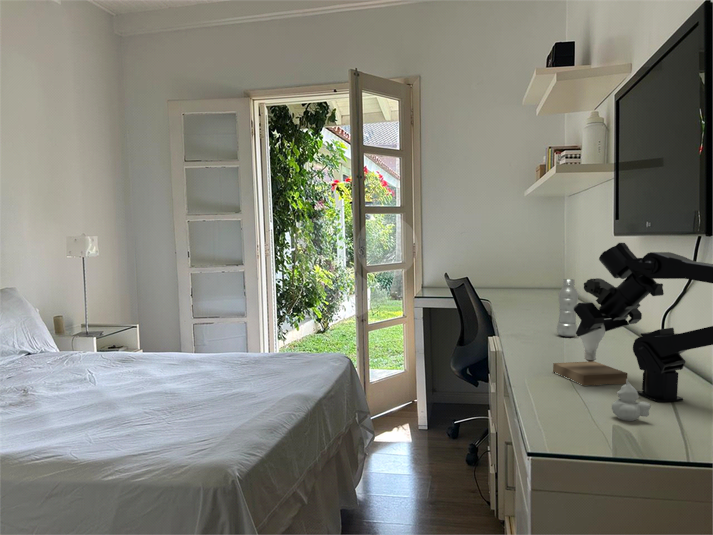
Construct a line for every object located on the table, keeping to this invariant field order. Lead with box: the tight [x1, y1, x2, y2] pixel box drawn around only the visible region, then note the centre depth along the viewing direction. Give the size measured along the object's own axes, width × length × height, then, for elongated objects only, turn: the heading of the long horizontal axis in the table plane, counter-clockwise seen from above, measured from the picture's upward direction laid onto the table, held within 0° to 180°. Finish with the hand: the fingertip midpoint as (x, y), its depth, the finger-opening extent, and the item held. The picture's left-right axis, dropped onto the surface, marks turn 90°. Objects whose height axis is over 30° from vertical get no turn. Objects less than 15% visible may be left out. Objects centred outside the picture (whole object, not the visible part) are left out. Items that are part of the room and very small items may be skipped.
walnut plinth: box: [552, 360, 628, 386], centre depth 132 cm, size 12×12×2 cm
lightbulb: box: [577, 320, 606, 362], centre depth 131 cm, size 6×6×11 cm
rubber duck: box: [611, 378, 651, 422], centre depth 102 cm, size 5×7×8 cm
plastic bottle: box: [556, 278, 579, 338], centre depth 185 cm, size 6×7×20 cm
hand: (586, 333), depth 132 cm, fingers closed on lightbulb, 6 cm apart
